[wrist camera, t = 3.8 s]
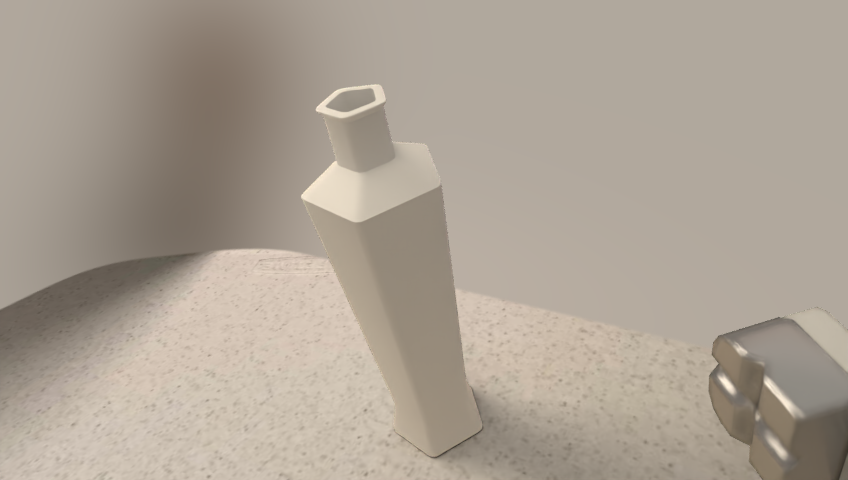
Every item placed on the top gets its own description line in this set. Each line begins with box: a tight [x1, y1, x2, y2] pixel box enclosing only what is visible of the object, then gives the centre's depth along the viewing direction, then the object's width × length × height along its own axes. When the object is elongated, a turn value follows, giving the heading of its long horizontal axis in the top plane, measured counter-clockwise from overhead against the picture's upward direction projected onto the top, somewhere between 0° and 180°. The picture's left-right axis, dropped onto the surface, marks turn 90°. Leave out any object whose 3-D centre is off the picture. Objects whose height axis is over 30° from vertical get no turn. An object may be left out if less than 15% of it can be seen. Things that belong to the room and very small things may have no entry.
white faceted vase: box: [301, 84, 483, 457], centre depth 24 cm, size 5×4×15 cm
